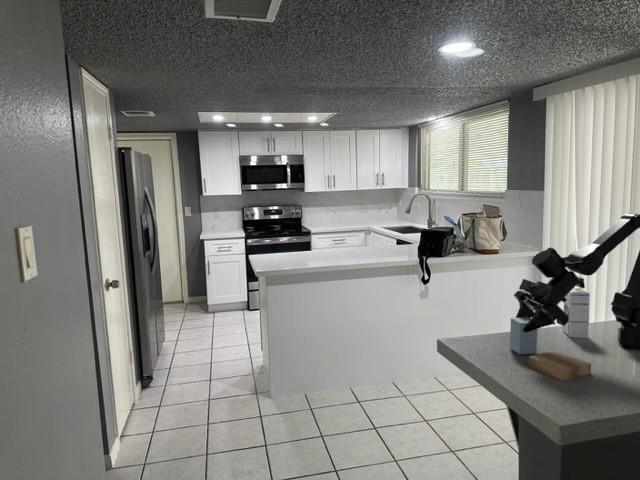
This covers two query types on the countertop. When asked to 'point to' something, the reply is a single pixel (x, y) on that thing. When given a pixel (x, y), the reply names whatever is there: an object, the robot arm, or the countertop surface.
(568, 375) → the walnut block
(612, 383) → the countertop surface
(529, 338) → the slate block
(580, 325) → the syrup box
